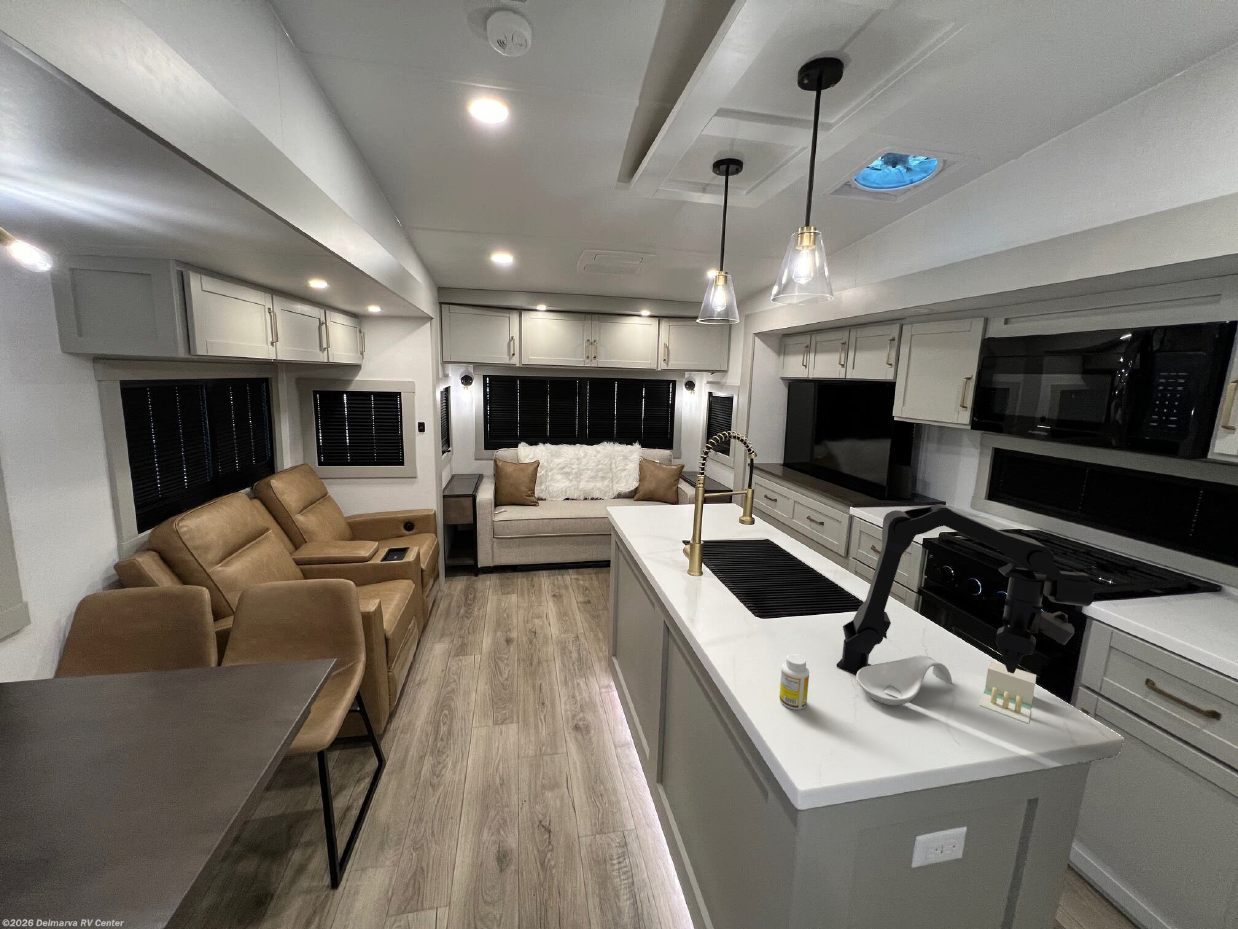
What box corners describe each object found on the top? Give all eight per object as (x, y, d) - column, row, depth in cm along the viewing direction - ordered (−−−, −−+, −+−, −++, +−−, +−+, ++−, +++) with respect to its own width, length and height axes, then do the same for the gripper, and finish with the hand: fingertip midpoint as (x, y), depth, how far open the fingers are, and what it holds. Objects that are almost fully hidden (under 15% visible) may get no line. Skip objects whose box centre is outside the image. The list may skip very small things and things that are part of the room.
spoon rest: (887, 719, 99) (891, 688, 98) (843, 686, 110) (846, 657, 109) (966, 697, 107) (971, 667, 106) (918, 668, 118) (921, 641, 117)
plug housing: (1031, 705, 103) (1035, 683, 102) (984, 688, 108) (988, 668, 107) (1032, 695, 106) (1036, 675, 105) (987, 680, 111) (990, 660, 110)
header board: (1027, 729, 97) (1031, 708, 96) (978, 710, 102) (981, 690, 101) (1032, 698, 107) (1035, 679, 106) (987, 682, 112) (990, 664, 112)
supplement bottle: (798, 694, 106) (802, 651, 105) (811, 710, 101) (815, 665, 99) (774, 695, 106) (778, 652, 104) (785, 711, 100) (789, 666, 99)
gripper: (1074, 625, 91) (1060, 699, 94) (1075, 596, 105) (1062, 662, 107) (1000, 606, 99) (989, 675, 101) (1010, 581, 112) (999, 643, 115)
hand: (1012, 664), depth 106 cm, fingers open, 9 cm apart
